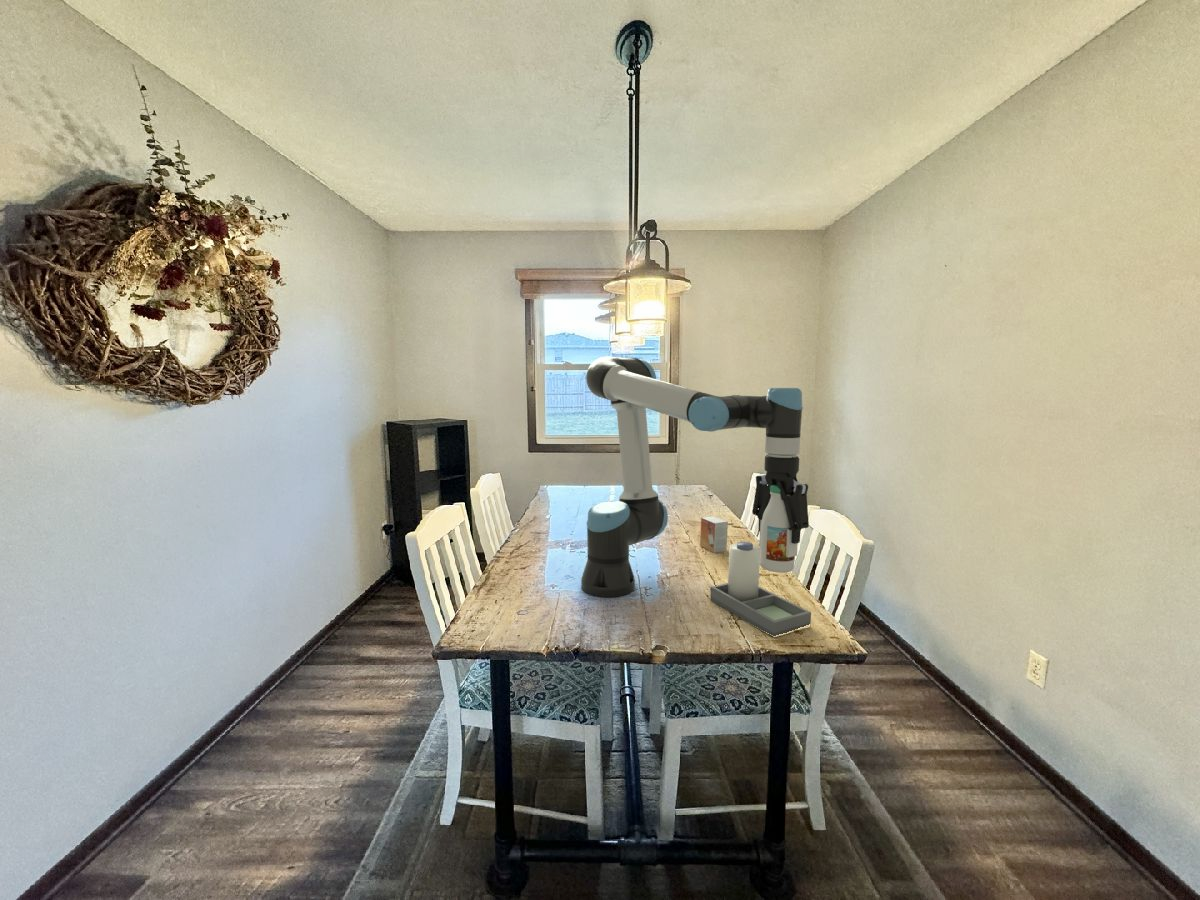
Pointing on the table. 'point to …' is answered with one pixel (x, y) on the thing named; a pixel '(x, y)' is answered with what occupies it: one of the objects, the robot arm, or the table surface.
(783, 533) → the milk bottle
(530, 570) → the table surface
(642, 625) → the table surface
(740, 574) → the twin bottle
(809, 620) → the tray
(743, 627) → the table surface
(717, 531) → the small box
